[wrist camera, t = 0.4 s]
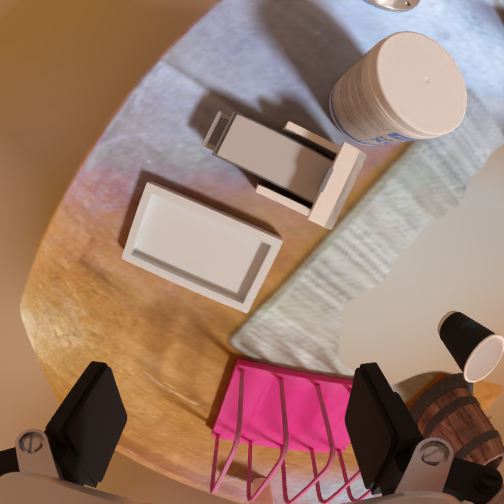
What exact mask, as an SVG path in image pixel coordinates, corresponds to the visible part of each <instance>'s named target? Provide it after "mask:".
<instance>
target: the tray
mask: <svg viewBox="0 0 504 504" xmlns="http://www.w3.org/2000/svg"><path fill="white" fill-rule="evenodd" d="M282 243H283V239H282V237H280V236H278V235H275V234H273V233H271V232H269V231H266V230H264V229H262V228H260V227H257V226H255V225H253V224H251V223H248V222H246V221H244V220H242V219H239V218H237V217H235V216H233V215H230V214H228V213H226V212H223V211H221V210H219V209H217V208H214V207H212V206H210V205H207V204H205V203H203V202H200V201H198V200H196V199H193V198H191V197H189V196H186V195H184V194H182V193H179V192H177V191H175V190H172V189H170V188H168V187H165V186H163V185H160V184H158V183H156V182H153V181H151V182H147V184H146V186H145V189H144V192H143V195H142V197H141V200H140V203H139V206H138V209H137V212H136V215H135V218H134V220H133V224H132V227H131V230H130V233H129V236H128V239H127V242H126V246H125V249H124V252H123V256H122V259H124V260H126V261H128V262H130V263H132V264H134V265H136V266H138V267H141V268H143V269H145V270H147V271H149V272H151V273H154V274H156V275H158V276H160V277H162V278H165V279H167V280H169V281H171V282H174V283H176V284H178V285H180V286H183V287H185V288H187V289H190V290H192V291H194V292H197V293H199V294H201V295H204V296H206V297H208V298H211V299H213V300H215V301H218V302H220V303H223V304H225V305H227V306H230V307H232V308H235V309H237V310H240V311H242V312H245V313H248V311H249V309H250V307H251V305H252V303H253V301H254V299H255V297H256V295H257V293H258V291H259V289H260V287H261V285H262V283H263V281H264V279H265V277H266V275H267V273H268V271H269V269H270V267H271V265H272V263H273V261H274V259H275V257H276V255H277V253H278V251H279V249H280V247H281V245H282Z"/></svg>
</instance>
